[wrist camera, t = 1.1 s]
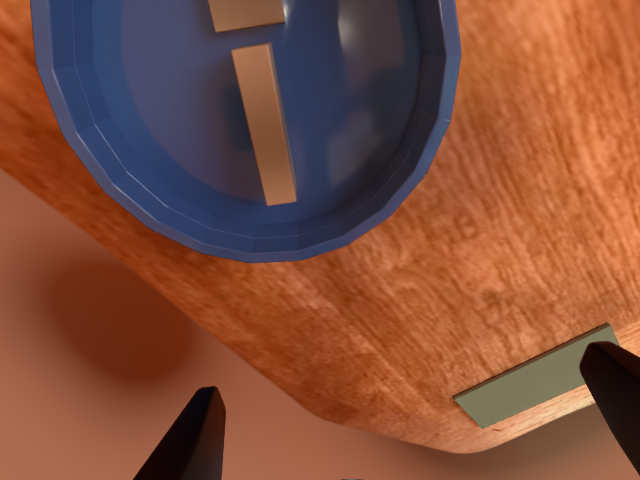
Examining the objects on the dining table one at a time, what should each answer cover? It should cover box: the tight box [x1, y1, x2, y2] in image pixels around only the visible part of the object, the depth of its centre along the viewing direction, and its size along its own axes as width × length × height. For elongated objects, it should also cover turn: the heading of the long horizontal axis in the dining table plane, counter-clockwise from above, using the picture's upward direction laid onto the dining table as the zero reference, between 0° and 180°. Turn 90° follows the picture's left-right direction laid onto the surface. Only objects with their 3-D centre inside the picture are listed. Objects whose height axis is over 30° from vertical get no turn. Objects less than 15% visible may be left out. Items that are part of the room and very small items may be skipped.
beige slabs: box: [208, 0, 296, 206], centre depth 15 cm, size 11×3×2 cm, turn 8°
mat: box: [453, 323, 620, 429], centre depth 29 cm, size 13×6×1 cm, turn 128°
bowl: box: [30, 0, 461, 263], centre depth 15 cm, size 15×15×4 cm
